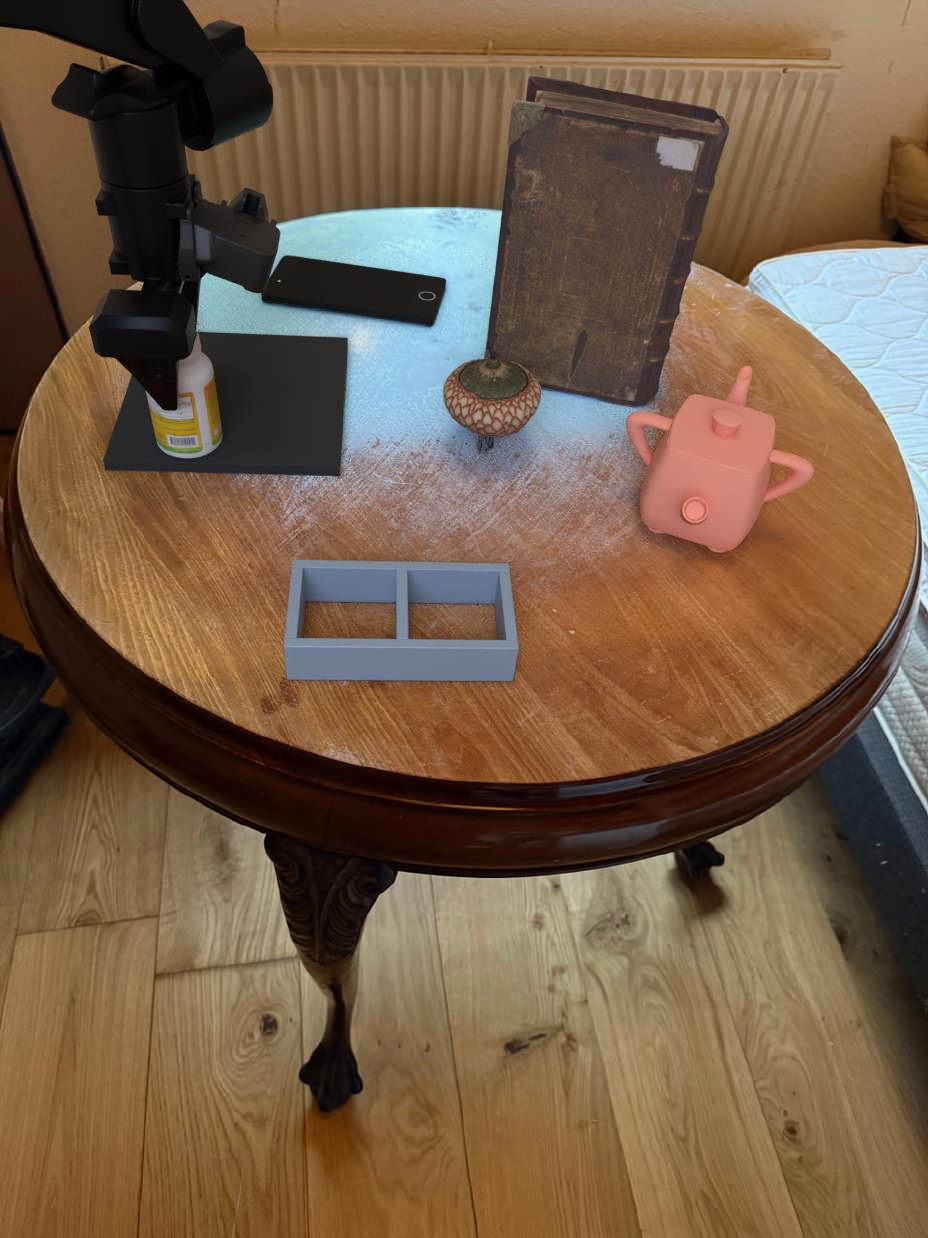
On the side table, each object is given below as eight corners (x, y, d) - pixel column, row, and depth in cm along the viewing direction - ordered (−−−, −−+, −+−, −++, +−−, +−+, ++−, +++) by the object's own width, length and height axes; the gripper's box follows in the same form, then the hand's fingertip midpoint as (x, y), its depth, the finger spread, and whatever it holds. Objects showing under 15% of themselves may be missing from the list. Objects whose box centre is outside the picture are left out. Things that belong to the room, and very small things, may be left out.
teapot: (800, 565, 74) (848, 463, 66) (666, 588, 71) (700, 484, 64) (718, 456, 83) (752, 357, 76) (596, 473, 80) (619, 371, 73)
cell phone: (432, 327, 94) (433, 319, 93) (259, 301, 95) (258, 293, 94) (446, 285, 100) (447, 277, 99) (284, 261, 101) (283, 253, 100)
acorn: (507, 415, 85) (520, 316, 77) (548, 469, 80) (566, 368, 72) (424, 432, 82) (429, 330, 75) (461, 489, 77) (470, 386, 70)
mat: (105, 470, 75) (102, 460, 75) (148, 338, 89) (147, 329, 88) (339, 476, 77) (339, 466, 76) (347, 346, 91) (347, 337, 90)
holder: (286, 680, 62) (283, 646, 60) (295, 593, 68) (292, 559, 65) (513, 681, 64) (519, 648, 61) (503, 596, 69) (508, 563, 67)
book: (662, 385, 90) (736, 108, 72) (648, 424, 85) (724, 140, 67) (499, 344, 93) (531, 68, 74) (477, 380, 88) (505, 95, 70)
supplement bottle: (199, 413, 80) (182, 310, 73) (236, 443, 77) (222, 339, 70) (144, 437, 77) (120, 332, 70) (180, 468, 75) (160, 363, 68)
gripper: (252, 242, 56) (273, 451, 67) (278, 124, 68) (292, 317, 80) (61, 233, 55) (115, 447, 66) (123, 115, 67) (159, 312, 79)
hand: (179, 375), depth 73 cm, fingers open, 9 cm apart
